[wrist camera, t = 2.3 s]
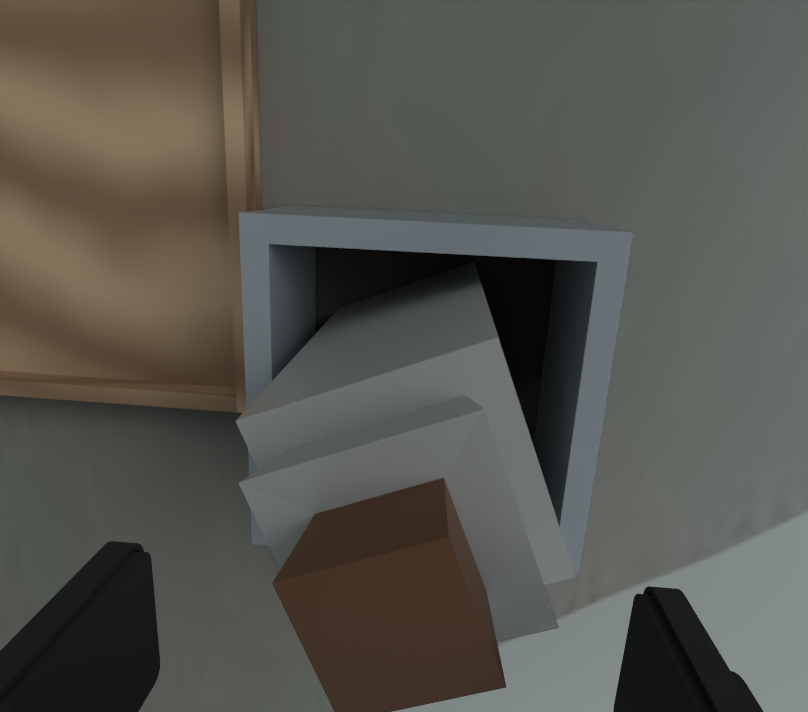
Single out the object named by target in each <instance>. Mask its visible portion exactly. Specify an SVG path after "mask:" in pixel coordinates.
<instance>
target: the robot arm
mask: <svg viewBox="0 0 808 712" xmlns="http://www.w3.org/2000/svg"><path fill="white" fill-rule="evenodd" d="M159 669H160V655H159V644H158V632H157V621H156V609H155V598H154V586H153V575H152V563H151V556H150V554H149V553H148V552H144V550H143V547H142V546H141V545H140V544H138V543H126V542H114V541H111V542H108V543H107V544H105V545H104V546H103V547H102V548H101V549H100V550H99V551H98V552H97V553H96V554H95V555H94V556H93V557H92V558H91V559H90V560H89V561H88V562H87V563H86V564H85V565H84V566H83V567H82V569H81V570H80V571H79V572H78V573H77V574H76V575H75V576H74V577H73V578H72V579H71V580H70V581H69V582H68V583H67V584H66V585H65V586H64V587H63V588H62V589H61V590H60V591H59V592H58V593H57V594H56V595H55V596H54V597H53V598H52V599H51V600H50V601H49V602H48V603H47V604H46V605H45V606H44V607H43V608H42V609H41V610H40V611H39V612H38V613H37V614H36V615H35V616H34V617H33V618H32V619H31V620H30V621H29V622H28V623H27V624H26V625H25V626H24V627H23V628H22V629H21V630H20V631H19V633H18V634H17V635H16V636H15V637H14V638H13V639H12V640H11V641H10V642H9V643H8V644H7V645H6V646H5V647H4V648H3V649H2V650H1V651H0V712H138V711H139V710H140V708H141V706H142V705H143V703H144V701H145V700H146V698H147V696H148V695H149V693H150V691H151V690H152V688H153V686H154V684H155V682H156V680H157V677H158V674H159ZM614 712H763V710H762V709H761V707H760V706H759V704H758V702H757V701H756V699H755V697H754V696H753V694H752V693H751V691H750V689H749V688H748V686H747V685H746V683H745V682H744V680H743V679H742V678H741V677H740V676H739V675H738V674H736V673H735V672H732V671H730V670H729V668H728V666H727V665H726V663H725V661H724V660H723V658H722V656H721V655H720V654H719V652H718V650H717V648H716V647H715V645H714V643H713V641H712V640H711V638H710V636H709V635H708V633H707V631H706V630H705V628H704V627H703V625H702V623H701V622H700V620H699V618H698V617H697V615H696V613H695V612H694V610H693V609H692V607H691V605H690V603H689V602H688V600H687V598H686V597H685V595H684V594H683V592H682V591H681V590H679V589H671V588H659V587H646V589H645V590H644V593H643V594H637V595H635V597H634V601H633V607H632V612H631V617H630V623H629V628H628V634H627V639H626V644H625V650H624V655H623V661H622V666H621V671H620V676H619V682H618V687H617V693H616V698H615V704H614Z"/></svg>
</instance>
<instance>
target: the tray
mask: <svg viewBox="0 0 808 712" xmlns="http://www.w3.org/2000/svg"><path fill="white" fill-rule="evenodd" d="M254 210H262V204H261V168H260V132H259V96H258V60H257V24H256V0H0V395H5V396H18V397H32V398H45V399H59V400H73V401H86V402H100V403H114V404H127V405H141V406H155V407H168V408H182V409H196V410H209V411H223V412H237V413H243V412H244V411H245V410H246V385H245V360H244V334H243V309H242V283H241V258H240V232H239V212H245V211H254Z"/></svg>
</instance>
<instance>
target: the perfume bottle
mask: <svg viewBox="0 0 808 712" xmlns="http://www.w3.org/2000/svg"><path fill="white" fill-rule="evenodd" d="M236 423H237V426H238V428H239V430H240V432H241V434H242V436H243V438H244V441H245V443H246V445H247V447H248V449H249V451H250V453H251V456H252V458H253V460H254V462H255V464H256V466H257V468H258V470H257V471H256V472H254V473H253V474H251V475H249V476H248V477H246V478H244V479H243V480H241V481H240V482H238V483H239V485H240V487H241V489H242V491H243V494H244V496H245V498H246V500H247V502H248V504H249V506H250V508H251V510H252V512H253V514H254V517H255V519H256V521H257V523H258V525H259V527H260V529H261V531H262V533H263V535H264V537H265V539H266V542H267V544H268V546H269V548H270V550H271V552H272V554H273V556H274V558H275V560H276V562H277V565H278V567H279V569H280V571H279V573H278V575H277V576H276V578H275V579H274V581H273V583H272V584H273V586H274V588H275V590H276V592H277V594H278V596H279V598H280V600H281V602H282V604H283V607H284V609H285V611H286V613H287V615H288V617H289V619H290V621H291V623H292V625H293V627H294V629H295V631H296V633H297V635H298V637H299V639H300V641H301V643H302V646H303V648H304V650H305V652H306V654H307V656H308V658H309V660H310V662H311V664H312V666H313V668H314V670H315V672H316V674H317V676H318V678H319V680H320V683H321V685H322V687H323V689H324V691H325V693H326V695H327V697H328V699H329V701H330V703H331V705H332V707H333V709H334V711H335V712H391V711H396V710H401V709H406V708H411V707H415V706H420V705H425V704H429V703H434V702H439V701H444V700H449V699H452V698H458V697H462V696H468V695H472V694H476V693H482V692H486V691H491V690H496V689H500V688H505V687H506V685H505V679H504V674H503V669H502V664H501V659H500V655H499V650H498V645H497V642H499V641H503V640H507V639H512V638H516V637H521V636H525V635H529V634H534V633H538V632H542V631H547V630H552V629H556V628H558V624H557V621H556V618H555V615H554V612H553V609H552V606H551V603H550V600H549V598H548V595H547V592H546V589H545V586H544V585H547V584H551V583H555V582H560V581H564V580H568V579H572V578H576V577H575V574H574V571H573V568H572V564H571V561H570V558H569V555H568V552H567V549H566V546H565V543H564V539H563V536H562V533H561V530H560V527H559V524H558V521H557V518H556V514H555V511H554V508H553V505H552V502H551V499H550V496H549V493H548V489H547V486H546V483H545V480H544V477H543V474H542V471H541V468H540V464H539V461H538V458H537V455H536V452H535V449H534V446H533V443H532V440H531V436H530V433H529V430H528V427H527V424H526V421H525V418H524V415H523V411H522V408H521V405H520V402H519V399H518V396H517V393H516V390H515V387H514V383H513V380H512V377H511V374H510V371H509V368H508V365H507V362H506V359H505V356H504V352H503V349H502V346H501V343H500V340H499V337H498V334H497V331H496V328H495V325H494V322H493V318H492V315H491V312H490V309H489V306H488V303H487V300H486V297H485V294H484V291H483V287H482V284H481V281H480V278H479V275H478V272H477V269H476V266H475V263H474V262H473V263H470V264H467V265H464V266H461V267H458V268H455V269H452V270H449V271H447V272H444V273H441V274H438V275H435V276H432V277H429V278H426V279H423V280H420V281H418V282H415V283H412V284H409V285H406V286H403V287H400V288H397V289H394V290H391V291H389V292H386V293H383V294H380V295H377V296H374V297H371V298H368V299H365V300H362V301H360V302H357V303H354V304H351V305H348V306H345V307H342V308H339V309H338V310H337V311H336V312H335V313H334V314H333V315H332V316H331V317H330V319H329V320H328V321H327V322H326V323H325V324H324V325H323V326H322V327H321V328H320V329H319V331H318V332H317V333H316V334H315V335H314V336H313V337H312V338H311V339H310V340H309V341H308V343H307V344H306V345H305V346H304V347H303V348H302V349H301V350H300V351H299V352H298V353H297V355H296V356H295V357H294V358H293V359H292V360H291V361H290V362H289V363H288V364H287V365H286V366H285V368H284V369H283V370H282V371H281V372H280V373H279V374H278V375H277V376H276V377H275V378H274V380H273V381H272V382H271V383H270V384H269V385H268V386H267V387H266V388H265V389H264V390H263V392H262V393H261V394H260V395H259V396H258V397H257V398H256V399H255V400H254V401H253V402H252V404H251V405H250V406H249V407H248V408H247V409H246V410H245V411H244V412H243V413H242V414H241V416H240V417H239V418H238V419H237V420H236Z"/></svg>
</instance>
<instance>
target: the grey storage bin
mask: <svg viewBox="0 0 808 712" xmlns="http://www.w3.org/2000/svg"><path fill="white" fill-rule="evenodd" d="M239 232H240V258H241V283H242V309H243V334H244V360H245V385H246V409H247V408H248V407H249V406H250V405H251V404H252V402H253V401H254V400H255V399H256V398H257V397H258V396H259V395H260V394H261V393H262V392H263V390H264V389H265V388H266V387H267V386H268V385H269V384H270V383H271V382H272V381H273V380H274V378H275V377H276V376H277V375H278V374H279V373H280V372H281V371H282V370H283V369H284V368H285V366H286V365H287V364H288V363H289V362H290V361H291V360H292V359H293V358H294V357H295V356H296V355H297V353H298V352H299V351H300V350H301V349H302V348H303V347H304V346H305V345H306V344H307V343H308V341H309V340H310V339H311V338H312V337H313V336H314V335H315V334H316V247H333V248H351V249H370V250H388V251H407V252H425V253H443V254H462V255H480V256H499V257H517V258H536V259H554V260H556V267H555V275H554V283H553V292H552V300H551V308H550V316H549V324H548V332H547V341H546V349H545V357H544V365H543V373H542V381H541V390H540V398H539V406H538V414H537V422H536V431H535V439H534V449H535V452H536V455H537V458H538V461H539V464H540V468H541V471H542V474H543V477H544V480H545V483H546V486H547V489H548V493H549V496H550V499H551V502H552V505H553V508H554V511H555V514H556V518H557V521H558V524H559V527H560V530H561V533H562V536H563V539H564V543H565V546H566V549H567V552H568V555H569V558H570V561H571V564H572V568H573V571H574V573H579V572H580V566H581V559H582V553H583V547H584V541H585V534H586V528H587V522H588V516H589V509H590V503H591V497H592V491H593V484H594V478H595V472H596V466H597V459H598V453H599V447H600V440H601V434H602V428H603V422H604V415H605V409H606V403H607V397H608V390H609V384H610V378H611V372H612V365H613V359H614V353H615V347H616V340H617V334H618V328H619V321H620V315H621V309H622V303H623V296H624V290H625V284H626V278H627V271H628V265H629V259H630V253H631V246H632V240H633V234H634V232H630V231H626V230H622V229H618V228H614V227H610V226H606V225H602V224H598V223H594V222H590V221H586V220H573V219H553V218H533V217H513V216H493V215H473V214H453V213H433V212H412V211H392V210H372V209H352V208H332V207H312V206H287V207H278V208H270V209H262V210H254V211H245V212H239ZM248 462H249V475H251V474H253V473H254V472H256V471H257V470H258V468H257V466H256V464H255V462H254V460H253V458H252V456H251V453H250V451H249V449H248ZM250 513H251V539H252V545H263V546H268V544H267V542H266V539H265V537H264V535H263V533H262V531H261V529H260V527H259V525H258V523H257V521H256V519H255V517H254V514H253V512H252V510H251V508H250Z"/></svg>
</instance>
